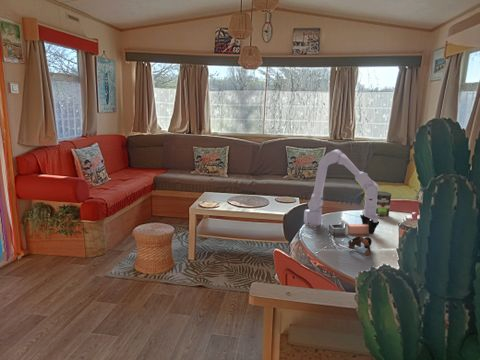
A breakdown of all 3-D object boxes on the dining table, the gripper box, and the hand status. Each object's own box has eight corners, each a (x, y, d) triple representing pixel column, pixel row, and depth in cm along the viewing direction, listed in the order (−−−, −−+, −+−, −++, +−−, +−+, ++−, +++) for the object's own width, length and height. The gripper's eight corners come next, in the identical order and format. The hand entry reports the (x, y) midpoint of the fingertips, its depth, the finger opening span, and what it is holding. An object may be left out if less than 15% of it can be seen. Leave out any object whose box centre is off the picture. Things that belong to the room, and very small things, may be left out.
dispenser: (333, 238, 180) (334, 224, 178) (327, 231, 190) (328, 218, 188) (370, 237, 181) (371, 224, 179) (362, 230, 191) (363, 218, 189)
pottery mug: (365, 259, 157) (356, 242, 157) (349, 260, 165) (341, 244, 166) (380, 246, 163) (372, 230, 164) (365, 248, 171) (357, 233, 172)
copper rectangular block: (349, 233, 183) (349, 226, 182) (346, 231, 187) (347, 224, 186) (371, 233, 184) (372, 226, 183) (369, 231, 187) (369, 223, 187)
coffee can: (390, 218, 211) (393, 195, 208) (372, 217, 213) (375, 194, 210) (386, 213, 221) (389, 191, 218) (369, 212, 223) (371, 190, 220)
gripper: (384, 210, 176) (381, 236, 179) (372, 202, 190) (369, 226, 193) (370, 210, 175) (368, 236, 178) (359, 202, 189) (357, 226, 192)
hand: (368, 231), depth 185 cm, fingers open, 7 cm apart
